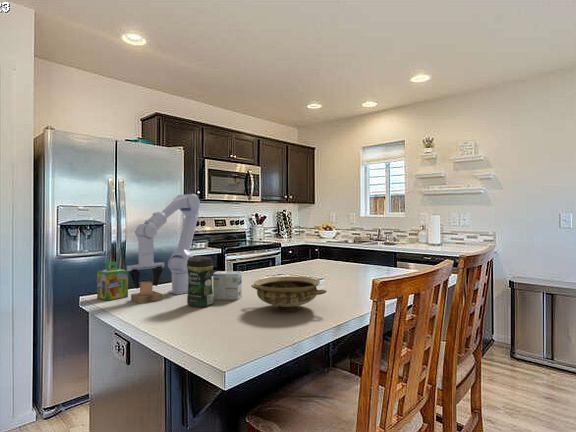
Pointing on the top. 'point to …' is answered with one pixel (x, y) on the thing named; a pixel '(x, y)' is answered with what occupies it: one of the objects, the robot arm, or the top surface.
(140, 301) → the walnut slab
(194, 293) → the coffee jar
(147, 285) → the terracotta block
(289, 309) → the ceramic bowl
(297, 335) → the top surface
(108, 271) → the chalk box
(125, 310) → the top surface
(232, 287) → the light bulb box
